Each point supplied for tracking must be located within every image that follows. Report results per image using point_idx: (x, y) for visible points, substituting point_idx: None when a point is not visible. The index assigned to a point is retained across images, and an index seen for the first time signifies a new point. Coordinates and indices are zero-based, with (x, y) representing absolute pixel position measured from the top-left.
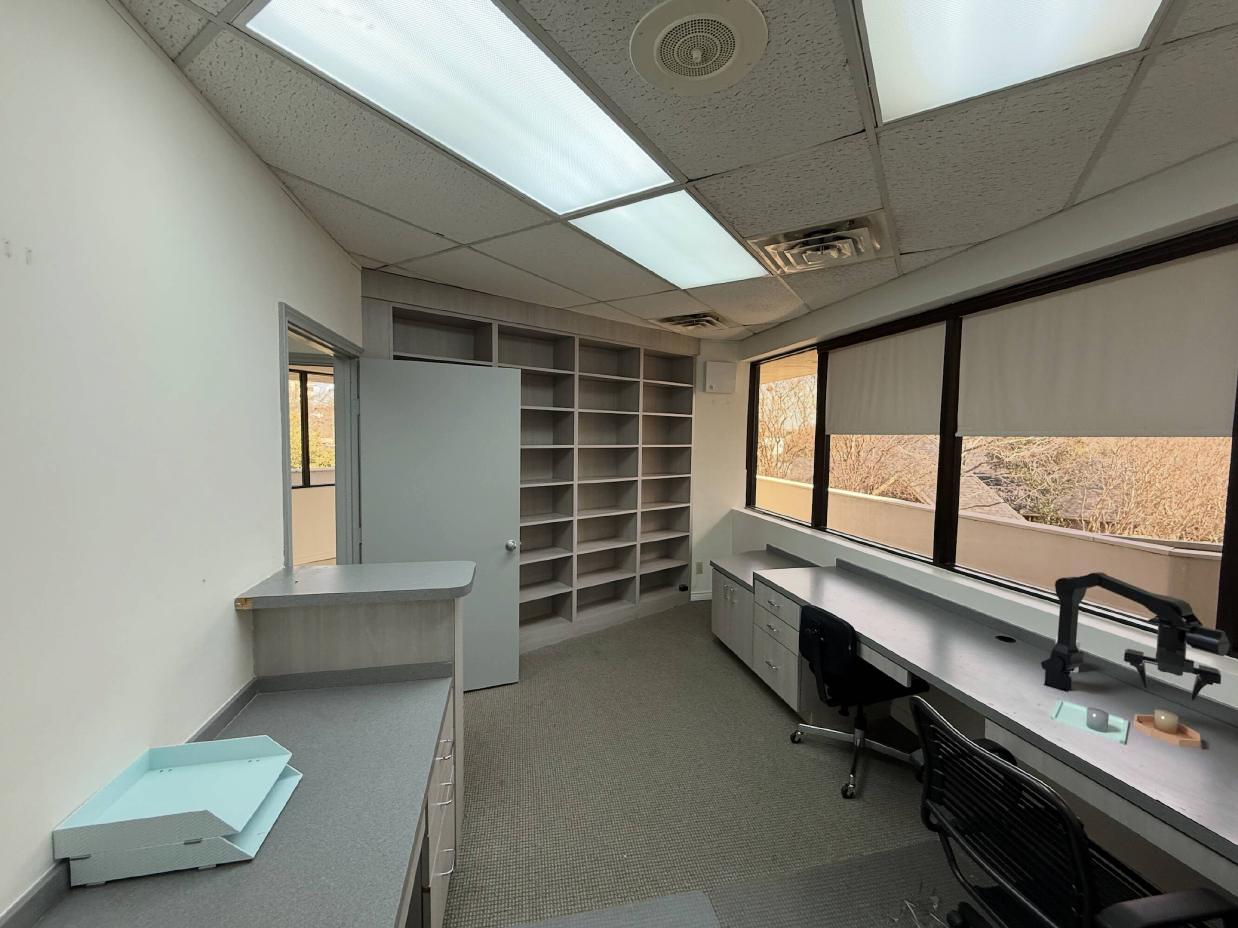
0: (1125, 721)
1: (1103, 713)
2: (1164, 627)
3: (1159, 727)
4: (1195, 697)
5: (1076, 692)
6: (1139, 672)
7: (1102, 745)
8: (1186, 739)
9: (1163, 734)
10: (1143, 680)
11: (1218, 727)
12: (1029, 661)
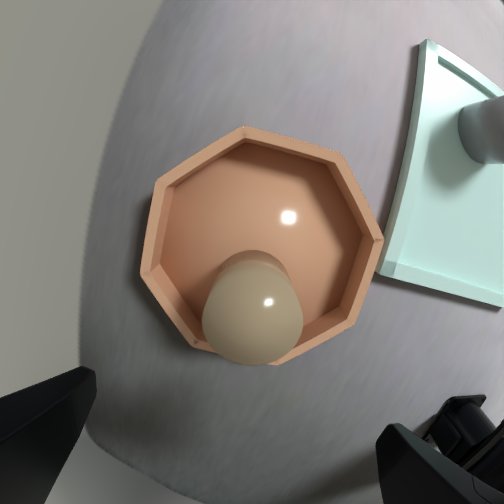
0: (394, 251)
1: None
2: None
3: (281, 265)
4: (55, 377)
5: (421, 423)
6: (501, 496)
7: (460, 31)
8: (212, 147)
9: (301, 141)
10: (439, 460)
11: (98, 413)
12: None
